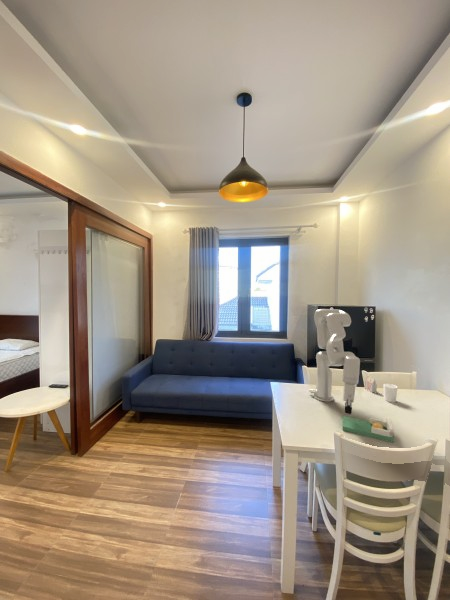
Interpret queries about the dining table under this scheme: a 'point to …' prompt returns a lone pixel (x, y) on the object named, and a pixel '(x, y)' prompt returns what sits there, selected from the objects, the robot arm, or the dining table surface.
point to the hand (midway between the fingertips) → (348, 411)
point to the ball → (377, 425)
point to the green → (369, 428)
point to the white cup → (390, 392)
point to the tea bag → (371, 384)
